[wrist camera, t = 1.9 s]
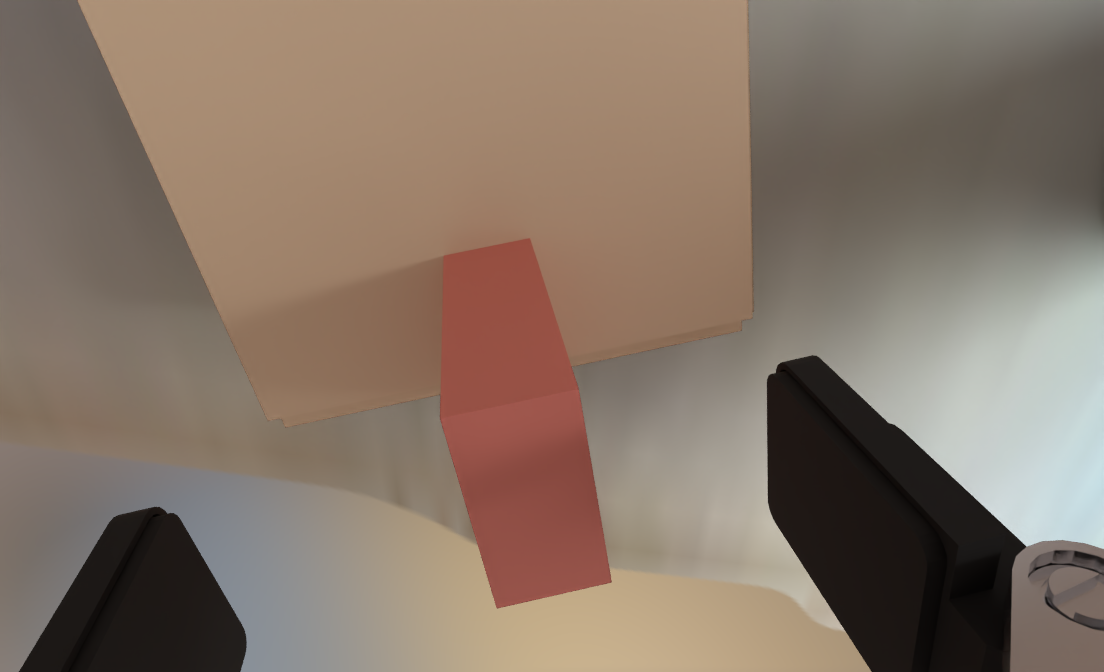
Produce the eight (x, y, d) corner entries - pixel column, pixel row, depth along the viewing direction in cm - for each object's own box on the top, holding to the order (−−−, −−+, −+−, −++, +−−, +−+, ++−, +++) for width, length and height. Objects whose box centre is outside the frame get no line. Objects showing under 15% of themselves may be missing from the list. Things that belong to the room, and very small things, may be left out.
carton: (642, -188, 18) (742, -279, 12) (676, 242, 24) (753, 330, 18) (162, -104, 18) (7, -153, 11) (319, 315, 23) (273, 432, 17)
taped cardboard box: (731, -250, 12) (1027, -501, 6) (745, 333, 18) (902, 516, 12) (33, -130, 11) (-451, -265, 5) (282, 431, 17) (189, 678, 11)
